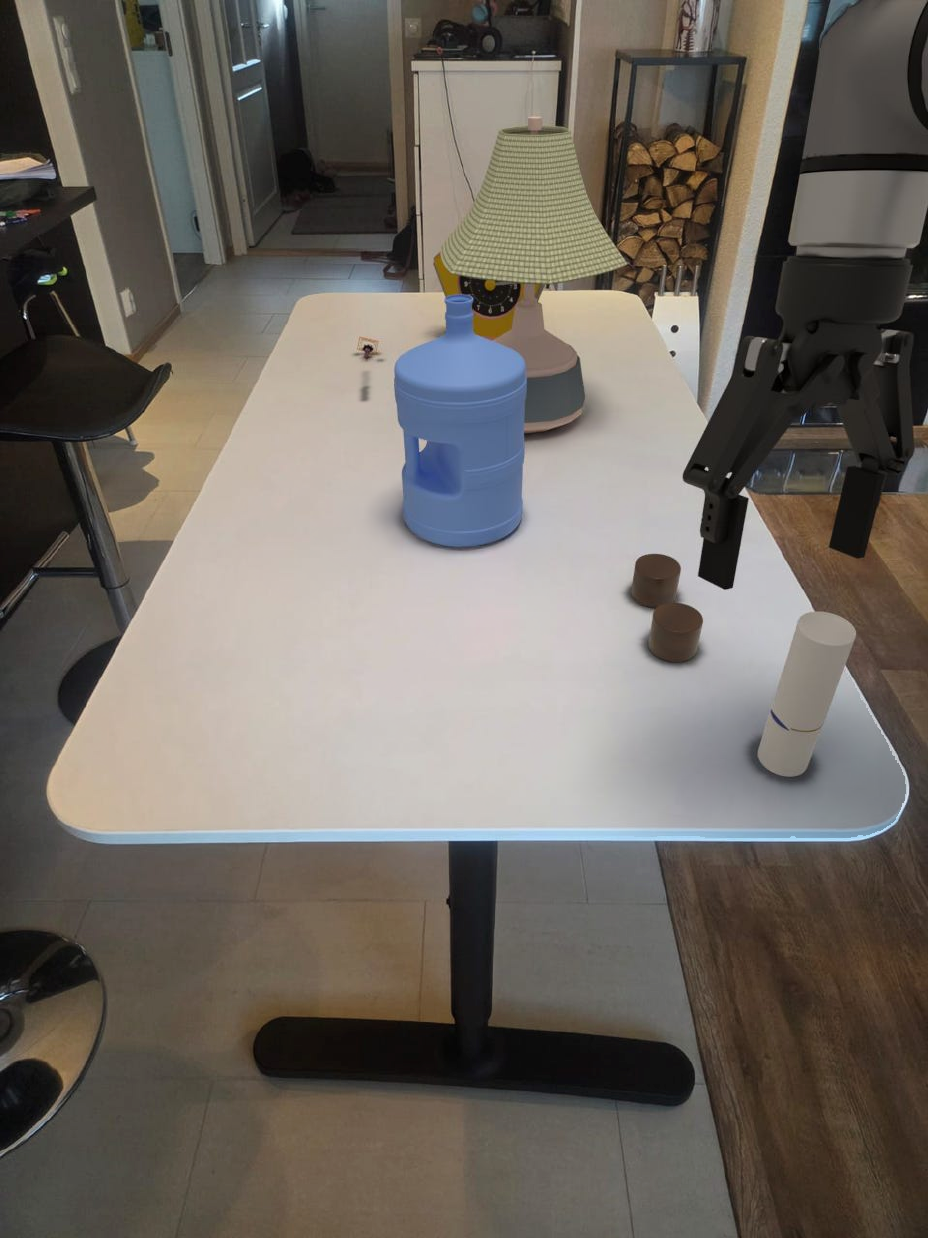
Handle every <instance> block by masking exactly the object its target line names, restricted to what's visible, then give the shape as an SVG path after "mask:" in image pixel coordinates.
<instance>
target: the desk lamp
mask: <svg viewBox="0 0 928 1238" xmlns="http://www.w3.org/2000/svg"><path fill="white" fill-rule="evenodd" d="M542 124H543V117H542V116H528V117H527V125H518V126H510V127H503V128H500V129H499V130H498V133H497V135H496V139H495V143H494V146H493V150H492V153H491V156H490V159H489V163H488V166H487V168H486V169H487V170H486V173H485V174H484V175H485V176H484V178H483V181H482V184H481V186H480V190H479V192H478V193H477V195H476V197H475V199H474V201H473V203H472V205H471V207H470V208H469V210H468V211H467V213H466V214H465V215H464V217H463V218H462V220H461V221H460V223H459V224H458V225H457V226H456V228H455V229H454V230H453V231H452V233H451V234H450V235H449V236H448V238H446V240H445V241H444V242H443V244H442V245H441V246H440V251H441V253H440V255H441V259H442V262H443V264H444V266H445V267H446V268H447V269H448V270H449V271H450V272H451V273H452V274H453V275H458V276H464V277H469V278H475V279H483V280H492V281H500V282H510V283H521V284H524V297H523V298H521V302H518V303H516V306H515V312H514V318H513V324H512V329H511V330H509V331H508V332H506V333H504V334H503V335H501V336H499V337H498V338H496V339H494V340H493V341H494V342H496V343H499V344H501V345H504V346H507V347H509V348H511V349H513V350H515V351H516V352H518V353H519V354H520V355H521V356H522V357H523V359H524V361H525V364H526V377H527V393H526V400H525V416H524V434H535V433H543V432H546V431H550V430H553V429H556V428H559V427H562V426H565V425H567V424H569V423H571V422H573V421H574V420H576V419H577V418H578V417H579V416H581V415H582V413H583V410H584V404H585V400H586V393H585V385H584V379H583V371H582V364H581V363H582V362H581V357H580V356H579V355H578V352H577V350H576V349H575V348H574V347H573V346H572V345H571V344H569V343H567V342H565V341H564V340H562V339H560V338H559V337H557V336H556V335H554V334H552V333H551V332H549V331H548V330H546V328H545V321H544V311H543V304H542V303H541V302H540V301H538V302H537V298H535V297H534V296H535V284H545V285H547V286H549V285H556V284H563V283H568V282H569V283H570V282H574V281H578V280H583V279H586V278H591V277H596V276H599V275H603V274H607V273H610V272H612V271H615V270H618V269H621V268H625V267H626V266H627V265H628V262H626V259H625V258H624V257H623V255H622V254H621V252H620V250H619V249H618V248H617V246H616V245H615V243H614V242H613V240H612V239H611V237H610V236H609V234H608V233H607V232H606V229H605V228H604V226H603V225H602V222H601V221H600V220H599V217H598V216H597V215H596V212H595V210H594V208H593V205H592V202H591V200H590V198H589V196H588V193H587V189H586V187H585V183H584V180H583V176H582V173H581V169H580V165H579V161H578V156H577V151H576V148H575V143H574V139H573V134H572V131H571V130H570V129H569V128H567V127H564V126H557V125H542Z"/></svg>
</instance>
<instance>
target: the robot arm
mask: <svg viewBox="0 0 928 1238" xmlns="http://www.w3.org/2000/svg"><path fill="white" fill-rule="evenodd" d="M819 35H820V36H819V43H818V51H819V52H818V61H817V67H816V74H815V80H814V85H813V86H814V87H813V91H812V98H811V104H810V109H809V116H808V123H807V128H806V133H805V134H806V135H805V139H804V146H803V153H802V158H801V160H802V161H801V162H800V168H799V176H798V184H797V188H796V194H795V200H794V204H793V210H792V211H793V212H792V217H791V222H790V229H789V234H788V240H787V242H788V243H789V245H790V246H794V247H795V246H796V252H795V255H790V256H787V259H786V261H783V262H782V267H781V274H780V280H779V286H778V290H777V295H776V296H777V297H776V303H775V312H776V314H777V315H778V316H779V317H780V318H781V319H782V321H783V326H782V329H781V333H780V335H779V337H778V339H774V338H768V337H762V336H761V337H760V336H754V335H746V336H745V337H743V339H742V340H741V342H740V345H739V348H738V352H737V356H736V361H735V365H734V370H733V373H732V375H731V377H730V379H729V381H728V383H727V384H726V387H725V388H724V391H723V393H722V395H721V397H720V399H719V400H718V402H717V405H716V406H715V408H714V410H713V412H712V414H711V416H710V419H709V420H708V422H707V425H706V426H705V428H704V430H703V432H702V434H701V436H700V438H699V440H698V442H697V444H696V446H695V448H694V450H693V452H692V454H691V455H690V458H689V460H688V462H687V464H686V466H685V468H684V470H683V473H682V481H683V482H684V483H685V484H687V485H689V486H693V487H695V488H698V489H701V490H703V493H704V499H703V506H702V513H701V520H700V526H699V534H700V538H703V540H702V545H701V546H702V547H701V551H700V552H701V553H700V558H699V564H698V565H699V566H698V571H697V572H698V573H697V577H698V578H701V579H702V580H704V581H706V582H708V583H710V584H712V585H714V586H716V587H718V588H720V589H722V590H724V591H726V590H731V589H733V588H734V583H735V579H736V578H735V576H736V572H737V568H738V567H737V566H738V561H739V557H740V556H739V555H740V550H741V545H742V539H743V534H744V529H745V522H746V517H747V511H748V506H749V500H750V499H749V497H747V496H744V495H742V494H741V493H742V491H743V490H744V488H745V487H746V486H747V484H748V483H749V482H750V480H751V479H752V477H754V475H755V473H756V472H757V471H758V469H759V468H760V467H761V465H763V463H764V461H766V458H768V456H769V455H770V453H771V452H772V451H773V449H774V448H775V447H776V445H777V444H778V442H779V441H780V440H781V439H782V437H783V436H784V434H785V433H786V432H787V430H788V429H789V428H790V426H791V425H792V424H793V423H794V421H795V420H796V419H797V418H800V417H803V416H805V415H806V414H807V413H808V412H809V410H810V409H812V408H813V409H817V408H823V407H825V406H826V405H829V404H831V405H834V406H835V408H836V410H837V413H838V416H839V418H840V421H841V423H842V426H843V429H844V431H845V434H846V437H847V439H848V441H849V442H848V443H849V445H850V448H851V449H852V452H853V455H854V457H855V460H856V463H857V464H858V465H860V466H856V465H851V466H847V467H846V470H845V475H844V480H843V484H842V488H841V492H840V497H839V502H838V505H837V510H836V514H835V518H834V522H833V526H832V532H831V536H830V540H829V545H828V548H829V549H832V550H834V551H837V552H839V553H842V554H844V555H847V556H849V557H852V558H855V559H857V560H858V559H859V560H860V559H864V558H865V556H866V552H867V549H868V546H869V545H868V544H869V542H870V541H869V540H870V538H871V533H872V529H873V524H874V521H875V518H876V513H877V510H878V508H879V506H880V503H881V499H882V495H883V491H884V487H885V483H886V479H887V475H888V474H893V475H896V476H898V475H900V474H902V473H903V472H904V470H905V468H906V464H907V463H906V462H908V461H910V460H911V459H912V458H913V456H914V454H915V436H914V435H915V434H914V421H913V419H914V418H913V404H912V403H913V402H912V389H911V388H912V387H911V373H910V363H911V357H912V353H913V347H914V340H915V336H914V333H913V332H910V331H903V330H894V329H886V328H883V325H885V324H890V323H891V324H892V323H894V322H895V321H897V320H898V319H899V318H900V316H902V312H903V308H904V304H905V300H906V296H907V291H908V287H909V285H910V284H909V283H910V279H911V275H912V272H913V267H914V265H913V264H910V263H911V259H908V258H905V257H906V253H907V249H914V248H915V247H917V246H918V245H920V241H921V238H922V234H923V228H924V224H925V220H926V214H927V211H928V0H830V1H829V5H828V9H827V13H826V18H825V22H824V26H823V30H822V31H821V33H820V34H819ZM783 391H784V392H783ZM892 438H895V439H896V440H893V439H892ZM706 468H707V469H706ZM730 473H731V474H730ZM728 474H730V475H729V477H727V476H728Z"/></svg>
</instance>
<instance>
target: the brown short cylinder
mask: <svg viewBox="0 0 928 1238" xmlns="http://www.w3.org/2000/svg"><path fill="white" fill-rule="evenodd" d="M681 571H682V566H681V564H680V563H679V561H678V560H677V559H675V558H673V557H671V556H670V555H666V554H662V553H647V554H644V555H641V556H639V557H638V558H637V559H636V560H635V563H634V569H633V577H632V583H631V591H630V594H631V598H632V599H633V600H634V601H635V602H636V603H638V604H639V605H641V606H644V607H647V608H653V609H656V608H657V607H658V606H660V605H662V604H666V603H675V601H676V599H677V595H678V594H677V593H678V587H679V582H680V578H681V577H680V576H681Z"/></svg>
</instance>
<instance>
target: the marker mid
mask: <svg viewBox="0 0 928 1238" xmlns="http://www.w3.org/2000/svg"><path fill="white" fill-rule="evenodd" d="M703 623H704V618H703V615H702V614H701V613H700V611H698V609H696V608H695V607H693V606H691V605H689V604H685V603H682V602H673V603H666V604H662V605H660V606H658V607H657V608H654V610H653V613H652V619H651V624H650V629H649V636H648V644H647V645H648V646H647V647H648V649H649V651H650V652H651V653H652V654H653V656H655V657H657V658H658V659H661V660H662V661H666V662H672V663H682V662H683V663H684V662H686V661H687V662H688V661H689V660H691V659H692V658H694V657H695V655H696V654H697V652H698V647H699V644H700V643H699V642H700V638H701V633H702V628H703Z"/></svg>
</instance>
